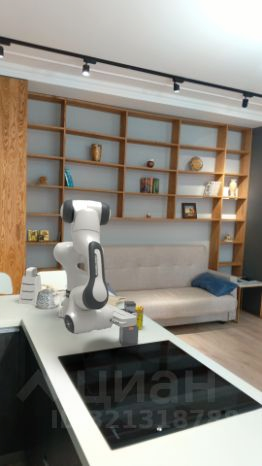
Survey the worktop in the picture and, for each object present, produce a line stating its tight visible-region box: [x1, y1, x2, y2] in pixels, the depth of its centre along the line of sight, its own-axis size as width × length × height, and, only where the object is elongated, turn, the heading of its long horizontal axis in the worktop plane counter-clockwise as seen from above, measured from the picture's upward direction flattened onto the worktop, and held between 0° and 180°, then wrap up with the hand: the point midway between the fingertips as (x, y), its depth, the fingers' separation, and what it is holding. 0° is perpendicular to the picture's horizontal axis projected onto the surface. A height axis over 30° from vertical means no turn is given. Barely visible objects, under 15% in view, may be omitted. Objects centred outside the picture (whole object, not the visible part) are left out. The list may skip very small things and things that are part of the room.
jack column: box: [123, 300, 137, 314], centre depth 149 cm, size 4×4×17 cm
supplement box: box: [136, 305, 145, 331], centre depth 169 cm, size 6×6×11 cm
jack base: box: [118, 324, 140, 347], centre depth 149 cm, size 12×14×9 cm
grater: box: [18, 266, 43, 306], centre depth 206 cm, size 10×10×20 cm
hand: (131, 312), depth 149 cm, fingers closed on jack column, 5 cm apart
